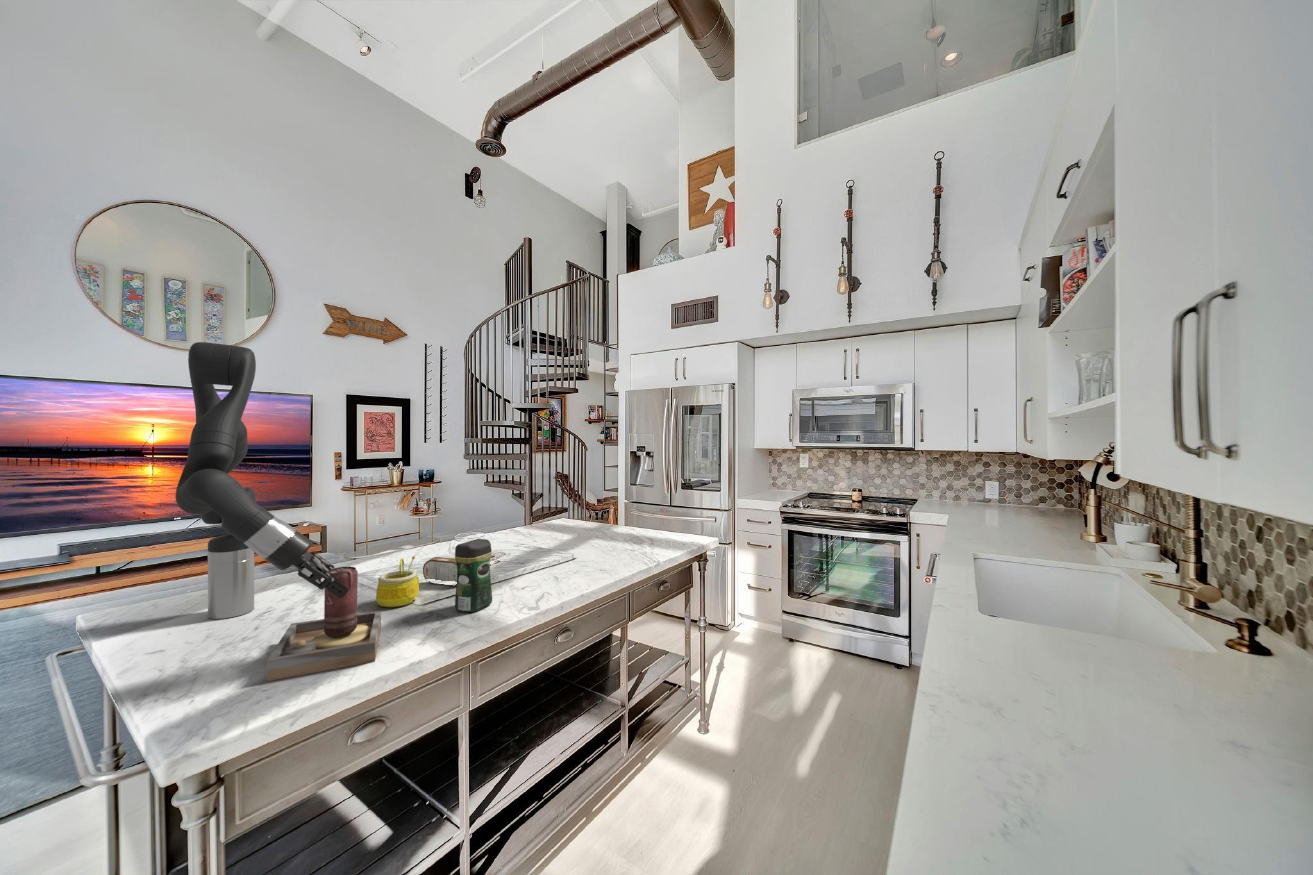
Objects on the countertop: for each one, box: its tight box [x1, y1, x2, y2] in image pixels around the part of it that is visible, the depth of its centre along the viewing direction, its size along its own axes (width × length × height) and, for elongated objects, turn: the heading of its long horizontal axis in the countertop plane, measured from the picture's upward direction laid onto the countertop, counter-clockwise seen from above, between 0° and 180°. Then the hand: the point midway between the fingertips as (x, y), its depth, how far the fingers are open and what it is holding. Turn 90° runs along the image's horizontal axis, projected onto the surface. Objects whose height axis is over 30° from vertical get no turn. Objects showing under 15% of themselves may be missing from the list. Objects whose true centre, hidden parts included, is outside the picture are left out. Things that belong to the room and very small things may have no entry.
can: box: [323, 566, 359, 637], centre depth 106 cm, size 6×6×14 cm
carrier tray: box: [266, 610, 382, 682], centre depth 104 cm, size 20×18×5 cm
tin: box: [422, 556, 457, 582], centre depth 150 cm, size 15×3×8 cm, turn 77°
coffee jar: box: [454, 538, 493, 613], centre depth 131 cm, size 10×8×19 cm
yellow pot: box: [375, 555, 420, 608], centre depth 135 cm, size 13×11×12 cm
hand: (345, 589), depth 106 cm, fingers closed on can, 6 cm apart
